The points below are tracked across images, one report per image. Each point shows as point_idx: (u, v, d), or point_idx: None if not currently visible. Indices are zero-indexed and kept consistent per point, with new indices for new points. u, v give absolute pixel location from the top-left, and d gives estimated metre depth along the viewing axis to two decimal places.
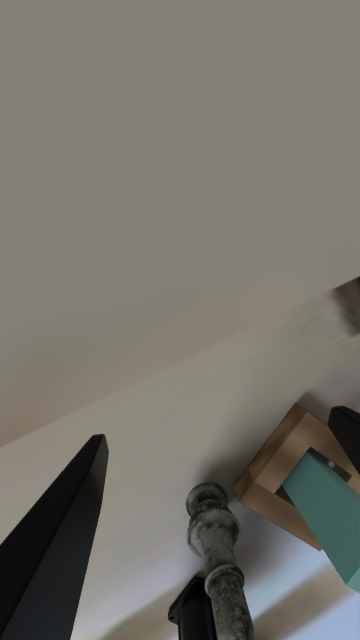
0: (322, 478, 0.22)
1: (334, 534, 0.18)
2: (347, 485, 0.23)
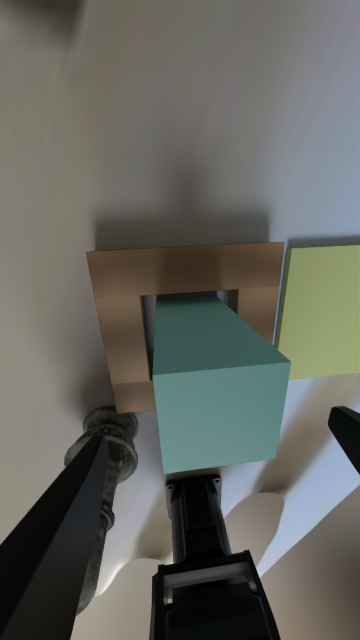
0: None
1: None
2: (219, 310, 0.13)
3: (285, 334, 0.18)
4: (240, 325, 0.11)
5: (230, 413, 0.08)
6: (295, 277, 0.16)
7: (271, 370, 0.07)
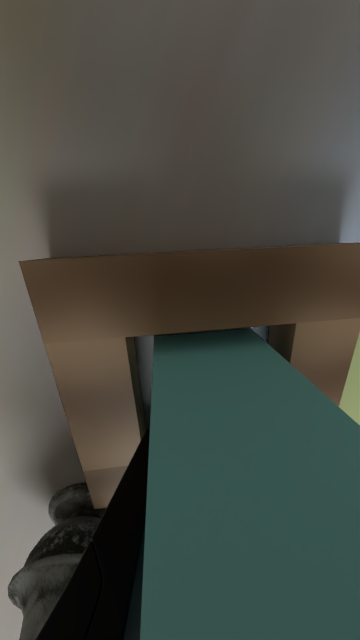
0: None
1: None
2: (269, 367, 0.07)
3: (351, 382, 0.12)
4: (348, 435, 0.05)
5: None
6: None
7: None
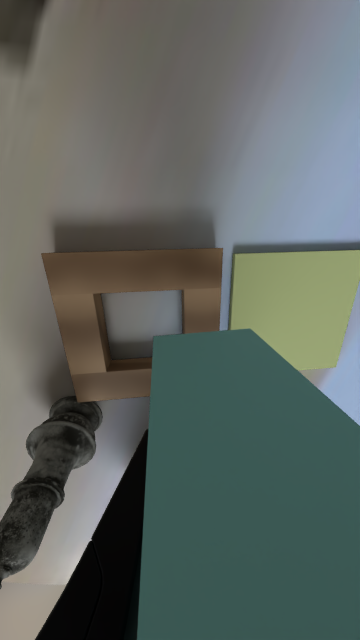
0: None
1: None
2: (268, 366, 0.07)
3: None
4: (347, 435, 0.05)
5: None
6: (240, 280, 0.18)
7: None
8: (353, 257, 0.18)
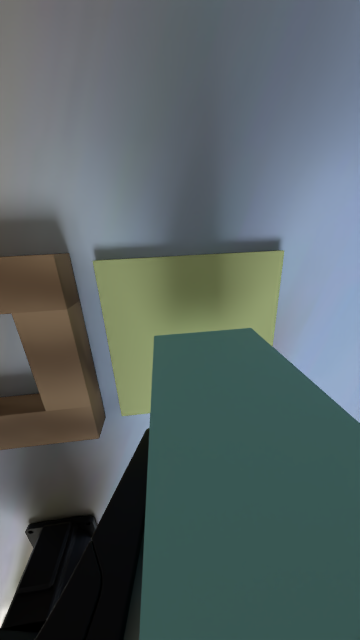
0: None
1: None
2: (269, 366, 0.07)
3: (118, 363, 0.15)
4: (349, 433, 0.05)
5: None
6: (109, 295, 0.13)
7: None
8: (265, 261, 0.13)
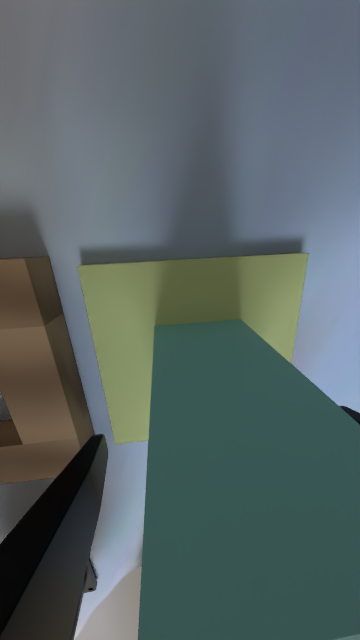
0: None
1: None
2: (253, 348, 0.09)
3: (110, 385, 0.12)
4: (307, 394, 0.06)
5: None
6: (98, 307, 0.11)
7: None
8: (285, 266, 0.11)
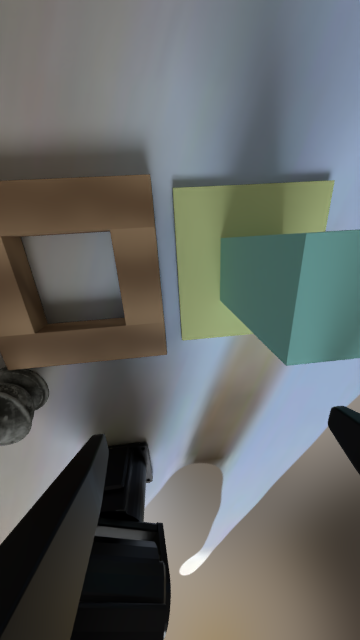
0: (240, 249, 0.12)
1: (263, 309, 0.10)
2: None
3: (184, 287, 0.17)
4: None
5: None
6: (183, 221, 0.15)
7: None
8: (317, 190, 0.15)
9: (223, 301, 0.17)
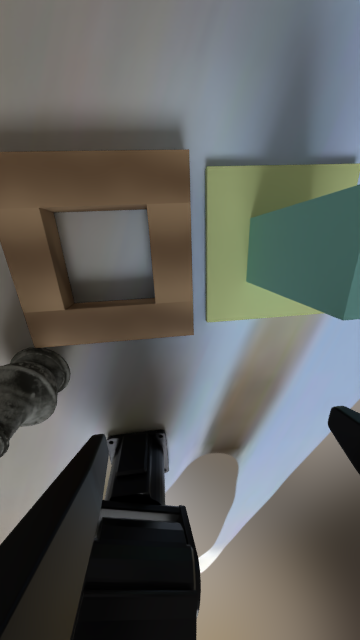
0: (279, 221, 0.12)
1: (310, 272, 0.10)
2: None
3: (212, 267, 0.17)
4: None
5: None
6: (215, 200, 0.15)
7: None
8: (345, 173, 0.16)
9: (251, 281, 0.17)
